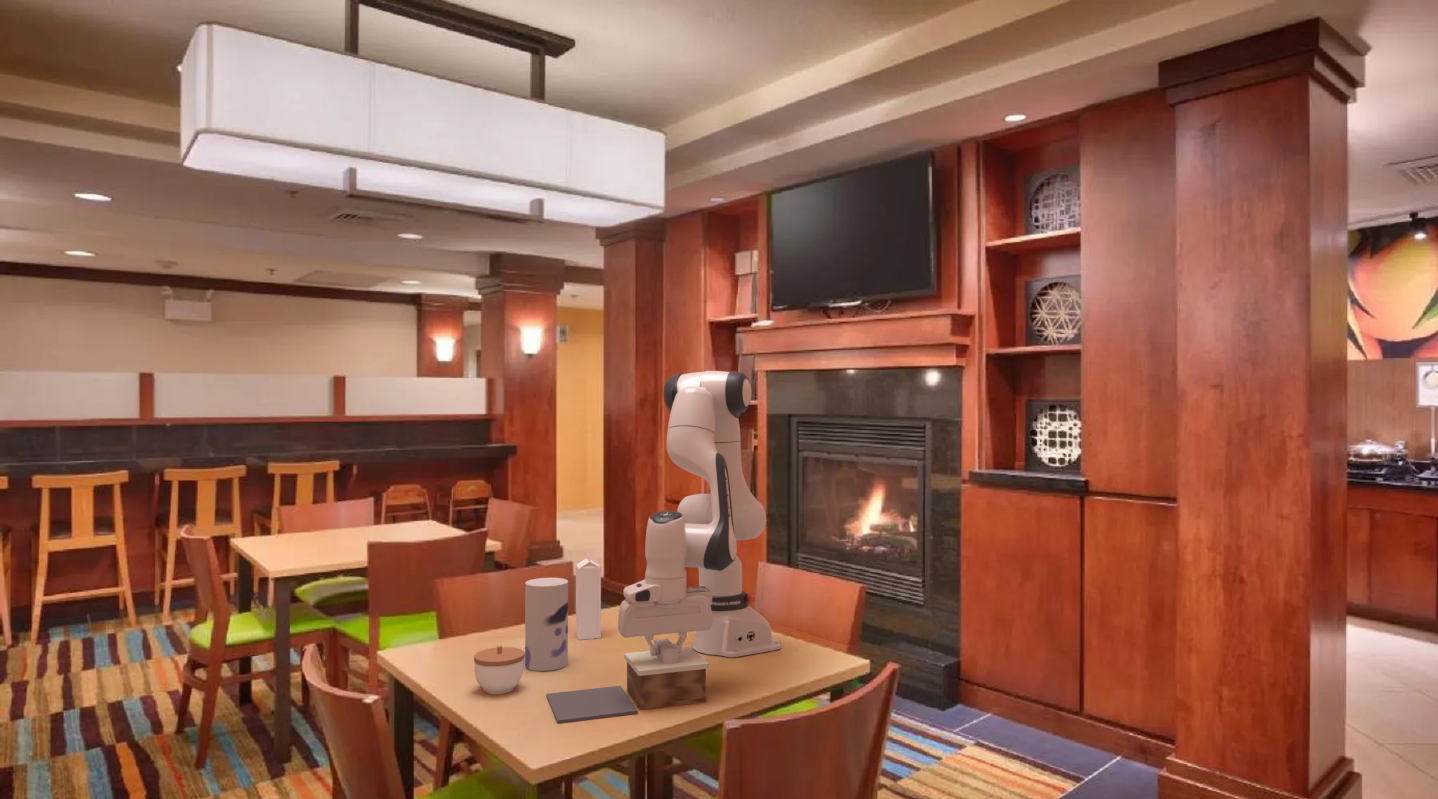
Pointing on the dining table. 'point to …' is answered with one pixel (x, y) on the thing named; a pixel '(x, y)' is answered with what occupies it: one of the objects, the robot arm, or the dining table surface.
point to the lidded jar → (499, 669)
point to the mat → (590, 704)
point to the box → (666, 688)
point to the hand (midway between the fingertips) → (665, 654)
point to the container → (546, 624)
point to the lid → (665, 659)
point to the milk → (588, 599)
